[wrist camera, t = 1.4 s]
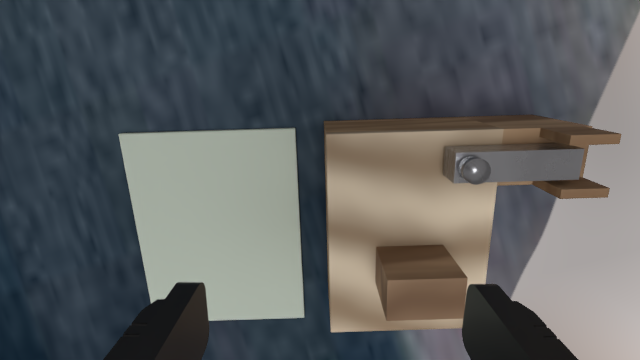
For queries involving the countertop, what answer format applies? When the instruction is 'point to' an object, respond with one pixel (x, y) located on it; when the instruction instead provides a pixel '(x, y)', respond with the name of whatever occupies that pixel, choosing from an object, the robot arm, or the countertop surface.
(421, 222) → the lid
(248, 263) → the mat
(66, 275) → the countertop surface
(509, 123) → the wooden box
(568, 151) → the sliding bolt
